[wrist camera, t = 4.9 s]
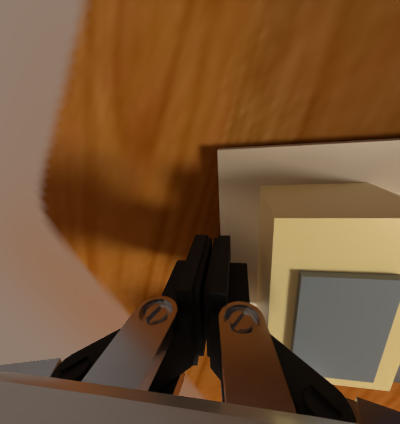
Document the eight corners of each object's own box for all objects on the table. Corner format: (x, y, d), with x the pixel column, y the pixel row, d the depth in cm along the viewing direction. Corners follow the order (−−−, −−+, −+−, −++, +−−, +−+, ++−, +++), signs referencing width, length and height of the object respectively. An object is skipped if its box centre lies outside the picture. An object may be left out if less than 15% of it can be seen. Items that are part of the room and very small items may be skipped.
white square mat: (218, 148, 11) (217, 150, 10) (614, 125, 8) (663, 125, 7) (226, 349, 16) (225, 363, 15) (475, 374, 13) (493, 392, 12)
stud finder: (260, 185, 10) (275, 222, 6) (368, 182, 9) (465, 222, 5) (256, 303, 13) (265, 384, 9) (341, 309, 12) (394, 400, 8)
